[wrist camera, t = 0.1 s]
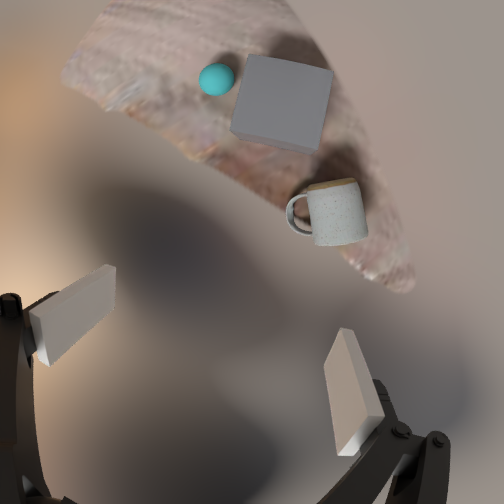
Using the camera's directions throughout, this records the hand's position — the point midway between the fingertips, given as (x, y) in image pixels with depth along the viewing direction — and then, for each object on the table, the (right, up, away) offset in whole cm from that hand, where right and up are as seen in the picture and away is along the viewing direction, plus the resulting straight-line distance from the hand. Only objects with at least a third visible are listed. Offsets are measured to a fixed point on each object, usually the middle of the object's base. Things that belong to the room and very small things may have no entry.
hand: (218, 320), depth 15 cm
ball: (-3, +28, +19) cm, 34 cm away
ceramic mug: (+12, +10, +25) cm, 30 cm away
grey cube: (+6, +23, +22) cm, 33 cm away
